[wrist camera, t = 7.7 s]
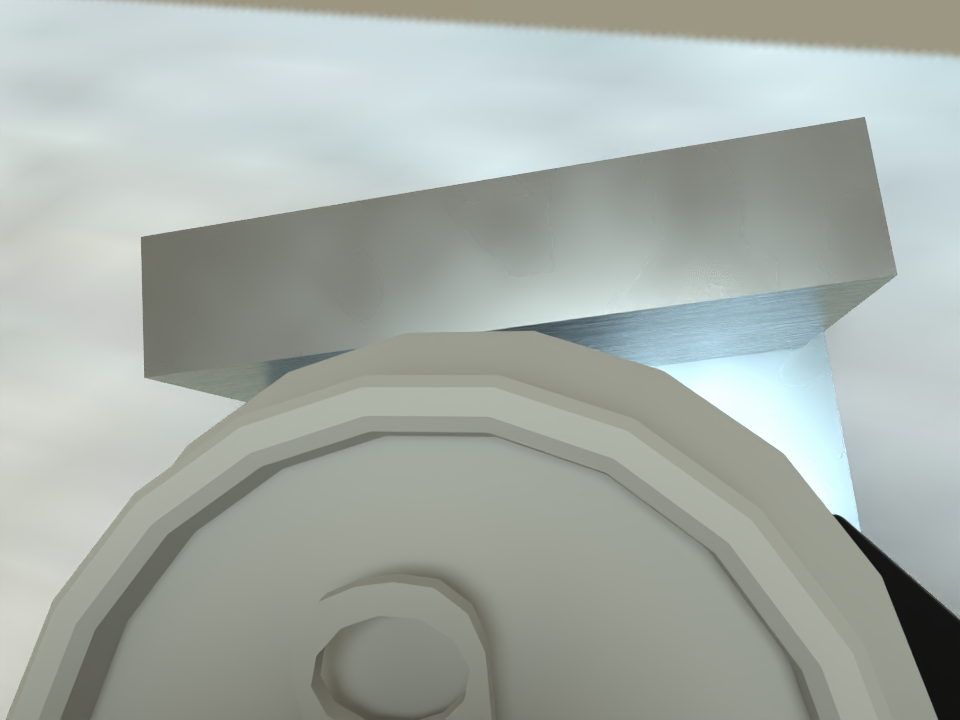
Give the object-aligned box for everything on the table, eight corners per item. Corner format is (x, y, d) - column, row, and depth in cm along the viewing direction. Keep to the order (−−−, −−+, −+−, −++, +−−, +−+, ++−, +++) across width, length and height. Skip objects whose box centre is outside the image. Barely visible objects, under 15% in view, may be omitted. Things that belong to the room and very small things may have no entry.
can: (401, 815, 16) (-144, 1617, 5) (364, 454, 18) (-121, 366, 6) (776, 785, 15) (1302, 1731, 4) (703, 403, 17) (905, 178, 5)
